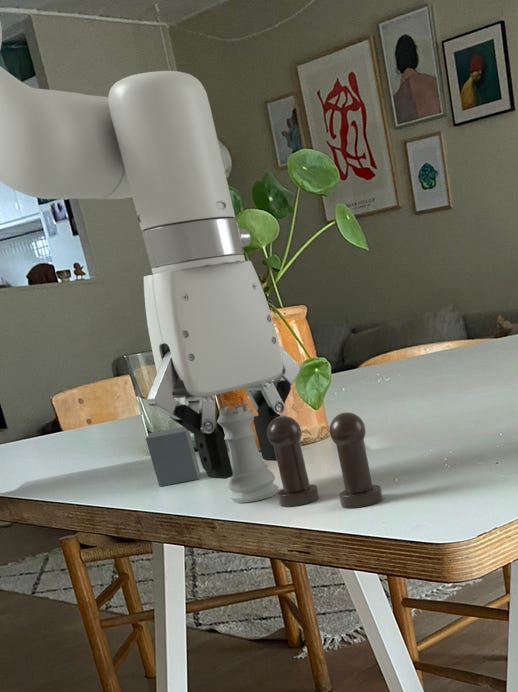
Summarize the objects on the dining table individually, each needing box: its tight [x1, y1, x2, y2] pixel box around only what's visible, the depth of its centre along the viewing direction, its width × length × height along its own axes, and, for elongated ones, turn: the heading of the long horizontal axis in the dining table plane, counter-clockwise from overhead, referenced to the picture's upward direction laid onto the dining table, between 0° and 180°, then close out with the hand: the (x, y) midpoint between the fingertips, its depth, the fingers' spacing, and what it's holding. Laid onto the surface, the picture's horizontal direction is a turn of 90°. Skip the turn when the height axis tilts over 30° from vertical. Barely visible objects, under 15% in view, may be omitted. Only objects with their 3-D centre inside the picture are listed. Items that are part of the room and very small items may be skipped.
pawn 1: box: [267, 415, 320, 508], centre depth 78 cm, size 3×3×7 cm
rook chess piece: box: [216, 403, 279, 504], centre depth 82 cm, size 4×4×8 cm
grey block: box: [145, 426, 201, 487], centre depth 97 cm, size 4×4×5 cm
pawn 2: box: [329, 411, 384, 509], centre depth 74 cm, size 3×3×7 cm
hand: (248, 466), depth 83 cm, fingers open, 5 cm apart
